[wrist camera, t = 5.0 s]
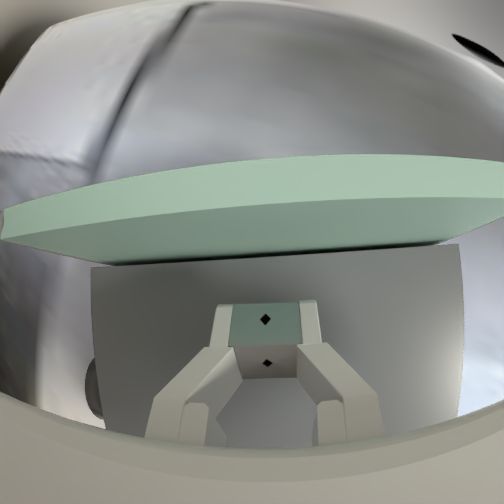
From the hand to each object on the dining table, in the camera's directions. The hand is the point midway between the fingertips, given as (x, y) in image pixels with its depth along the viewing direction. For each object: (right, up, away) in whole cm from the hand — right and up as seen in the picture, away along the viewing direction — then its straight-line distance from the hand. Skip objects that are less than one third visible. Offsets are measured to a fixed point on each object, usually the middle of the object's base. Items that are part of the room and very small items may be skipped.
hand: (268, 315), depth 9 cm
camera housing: (+2, -6, +10) cm, 12 cm away
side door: (+1, +2, +12) cm, 12 cm away
